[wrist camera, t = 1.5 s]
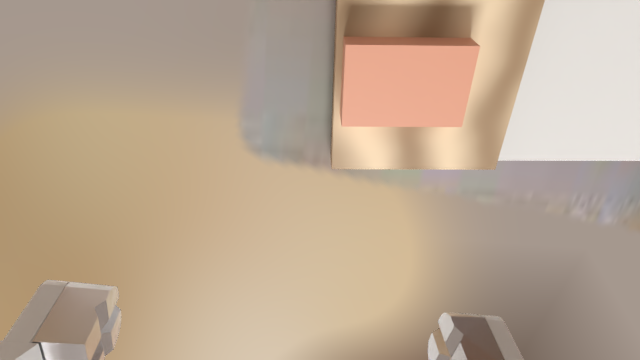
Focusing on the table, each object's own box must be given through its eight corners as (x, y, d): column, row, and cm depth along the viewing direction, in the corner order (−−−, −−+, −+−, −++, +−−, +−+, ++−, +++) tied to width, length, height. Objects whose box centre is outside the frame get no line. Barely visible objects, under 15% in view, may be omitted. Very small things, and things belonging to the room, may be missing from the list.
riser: (542, -45, 29) (557, -41, 27) (486, 157, 37) (495, 169, 36) (337, -48, 28) (339, -45, 27) (330, 157, 37) (331, 169, 35)
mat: (742, -42, 29) (748, -41, 28) (640, 157, 38) (644, 160, 37) (542, -45, 29) (546, -44, 28) (486, 157, 37) (489, 160, 37)
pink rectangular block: (470, 37, 30) (480, 46, 28) (454, 115, 33) (461, 127, 31) (343, 36, 29) (345, 44, 28) (339, 114, 33) (341, 126, 31)
